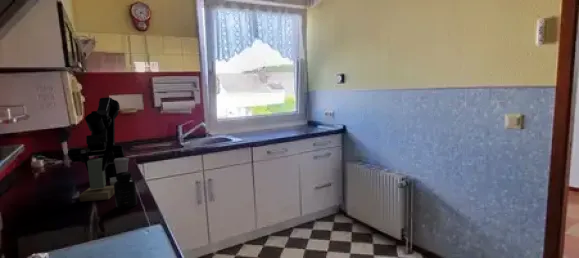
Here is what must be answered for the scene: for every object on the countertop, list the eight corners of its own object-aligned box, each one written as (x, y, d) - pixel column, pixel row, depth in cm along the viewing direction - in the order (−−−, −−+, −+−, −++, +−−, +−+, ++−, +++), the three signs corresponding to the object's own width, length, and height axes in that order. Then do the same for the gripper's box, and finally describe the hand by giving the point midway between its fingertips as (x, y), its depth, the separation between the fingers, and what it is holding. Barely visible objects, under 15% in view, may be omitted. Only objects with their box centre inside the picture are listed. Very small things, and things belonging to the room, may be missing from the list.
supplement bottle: (117, 204, 120) (114, 172, 119) (137, 201, 123) (134, 170, 121) (114, 210, 114) (111, 176, 112) (136, 207, 116) (133, 174, 115)
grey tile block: (110, 186, 143) (109, 177, 143) (130, 183, 147) (130, 174, 147) (111, 191, 136) (110, 182, 136) (132, 188, 140) (131, 179, 140)
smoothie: (132, 178, 155) (131, 149, 154) (122, 181, 149) (121, 151, 148) (121, 177, 157) (120, 148, 155) (111, 180, 151) (109, 150, 149)
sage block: (93, 185, 131) (89, 158, 130) (106, 184, 133) (103, 157, 131) (90, 189, 127) (87, 161, 125) (103, 187, 128) (100, 160, 127)
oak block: (91, 194, 134) (90, 187, 134) (117, 192, 136) (116, 185, 135) (80, 202, 124) (79, 195, 124) (108, 200, 126) (107, 192, 126)
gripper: (66, 128, 127) (61, 162, 118) (120, 125, 133) (118, 157, 124) (74, 145, 136) (70, 178, 127) (124, 141, 142) (123, 172, 133)
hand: (95, 171), depth 127 cm, fingers closed on sage block, 5 cm apart
